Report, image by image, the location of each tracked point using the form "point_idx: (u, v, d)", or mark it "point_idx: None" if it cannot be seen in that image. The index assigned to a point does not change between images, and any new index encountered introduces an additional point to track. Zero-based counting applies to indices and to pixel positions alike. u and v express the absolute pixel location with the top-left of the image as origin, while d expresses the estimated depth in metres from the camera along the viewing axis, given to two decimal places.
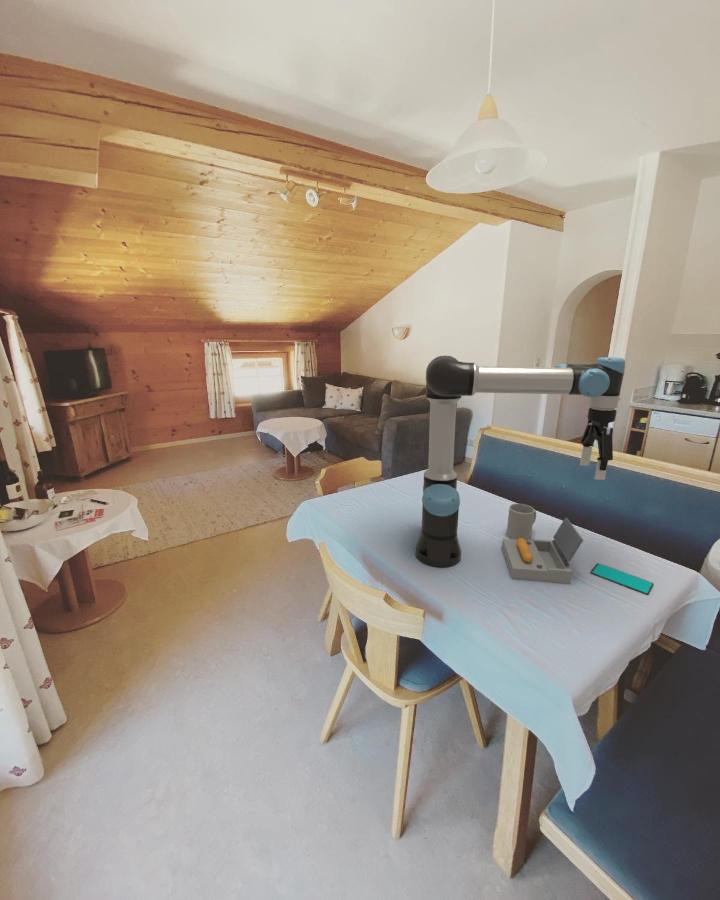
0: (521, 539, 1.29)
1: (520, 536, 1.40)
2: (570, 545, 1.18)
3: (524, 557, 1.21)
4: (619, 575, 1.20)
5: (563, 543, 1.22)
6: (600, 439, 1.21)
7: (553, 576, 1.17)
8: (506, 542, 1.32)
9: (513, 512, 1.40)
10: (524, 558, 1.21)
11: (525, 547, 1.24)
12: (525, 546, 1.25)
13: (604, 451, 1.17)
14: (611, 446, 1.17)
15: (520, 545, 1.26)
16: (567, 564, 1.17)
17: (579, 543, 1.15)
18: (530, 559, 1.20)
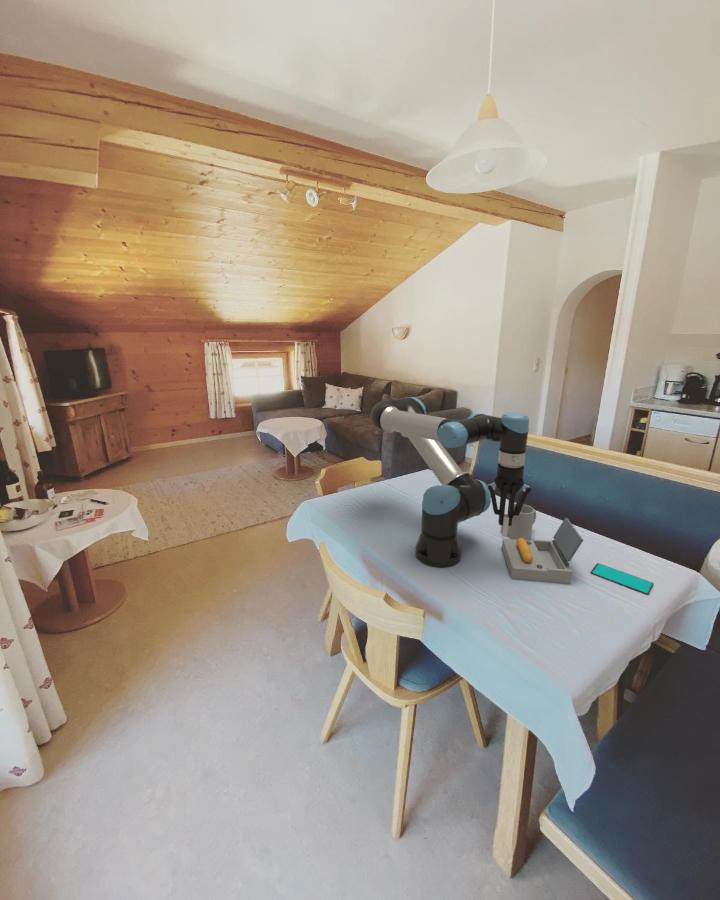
0: (521, 539, 1.29)
1: (520, 536, 1.40)
2: (570, 545, 1.18)
3: (524, 557, 1.21)
4: (619, 575, 1.20)
5: (563, 543, 1.22)
6: None
7: (553, 576, 1.17)
8: (506, 542, 1.32)
9: None
10: (524, 558, 1.21)
11: (525, 547, 1.24)
12: (525, 546, 1.25)
13: None
14: (492, 502, 1.22)
15: (520, 545, 1.26)
16: (567, 564, 1.17)
17: (579, 543, 1.15)
18: (530, 559, 1.20)
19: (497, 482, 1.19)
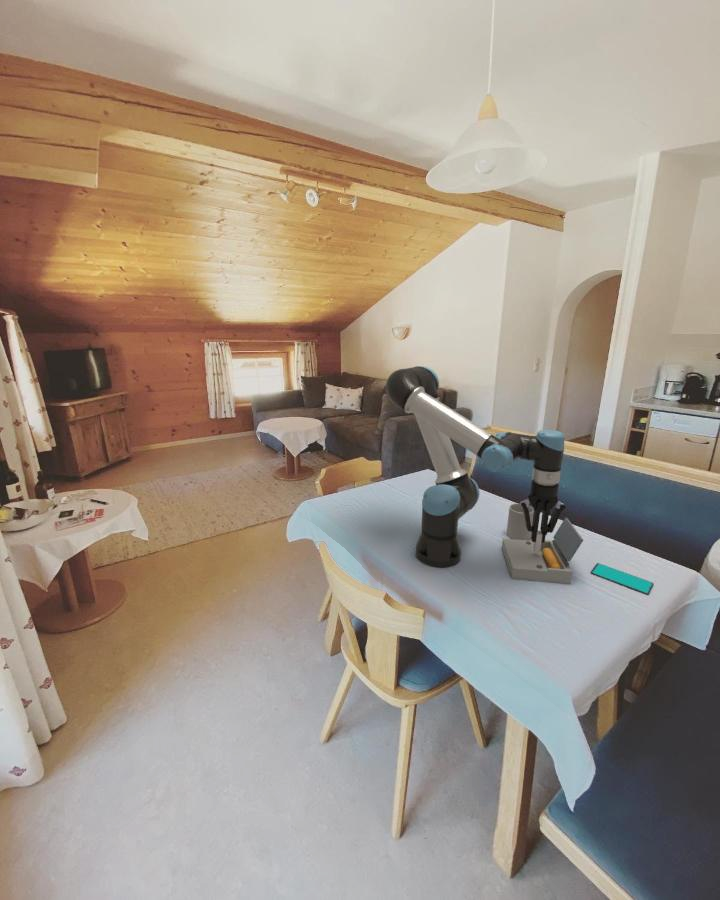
0: (547, 549, 1.28)
1: (520, 536, 1.40)
2: (570, 545, 1.18)
3: None
4: (619, 575, 1.20)
5: (563, 543, 1.22)
6: (534, 511, 1.22)
7: (553, 576, 1.17)
8: (506, 542, 1.32)
9: (513, 512, 1.40)
10: None
11: (552, 558, 1.23)
12: (551, 556, 1.24)
13: None
14: (525, 519, 1.21)
15: (546, 556, 1.26)
16: (567, 564, 1.17)
17: (579, 543, 1.15)
18: None
19: (531, 499, 1.19)
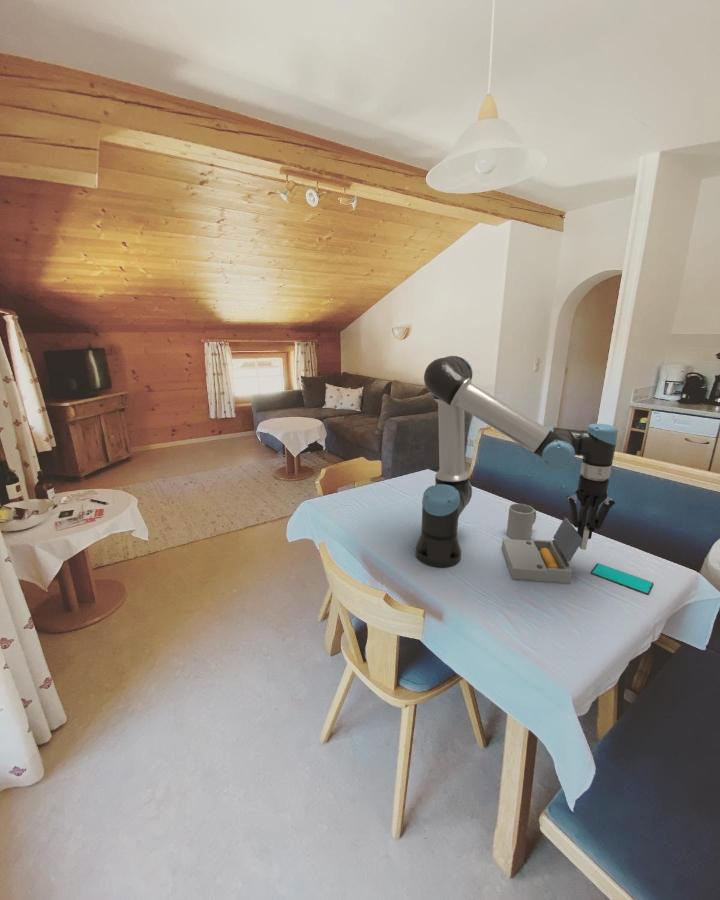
0: (542, 550, 1.29)
1: (520, 536, 1.40)
2: (570, 545, 1.18)
3: None
4: (619, 575, 1.20)
5: (563, 543, 1.22)
6: (581, 507, 1.19)
7: (553, 576, 1.17)
8: (506, 542, 1.32)
9: (513, 512, 1.40)
10: None
11: (547, 558, 1.24)
12: (547, 557, 1.24)
13: (571, 517, 1.21)
14: (572, 515, 1.19)
15: (543, 557, 1.26)
16: (567, 564, 1.17)
17: (579, 543, 1.15)
18: None
19: (579, 495, 1.16)
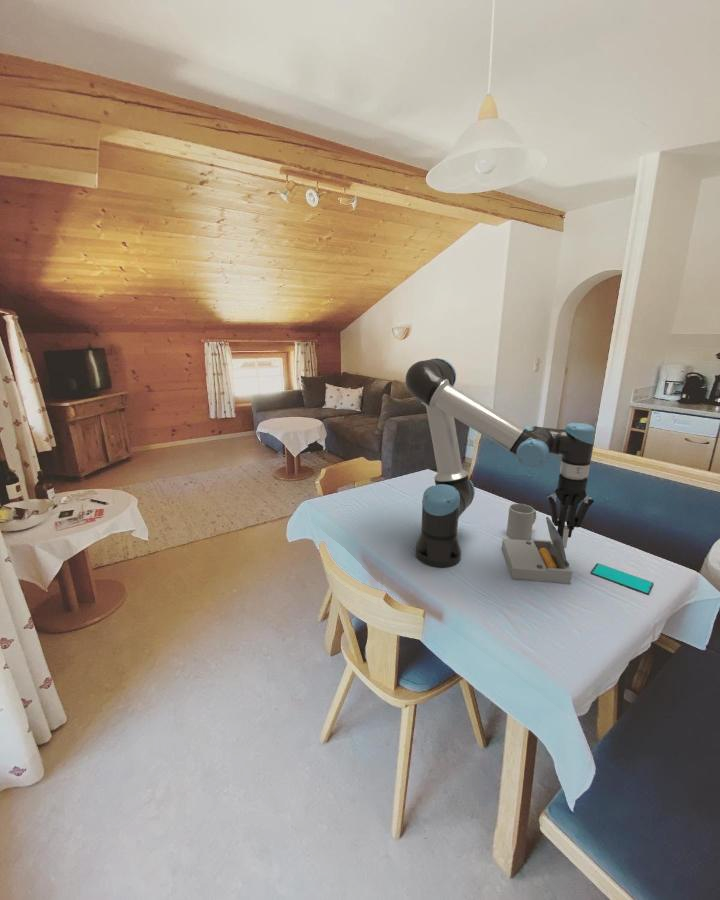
0: (540, 550, 1.29)
1: (520, 536, 1.40)
2: (558, 545, 1.19)
3: None
4: (619, 575, 1.20)
5: (555, 544, 1.23)
6: (561, 505, 1.20)
7: (553, 576, 1.17)
8: (506, 542, 1.32)
9: (513, 512, 1.40)
10: None
11: (545, 558, 1.24)
12: (545, 557, 1.24)
13: None
14: (552, 514, 1.20)
15: (542, 558, 1.26)
16: (567, 564, 1.17)
17: (561, 542, 1.15)
18: None
19: (558, 493, 1.17)
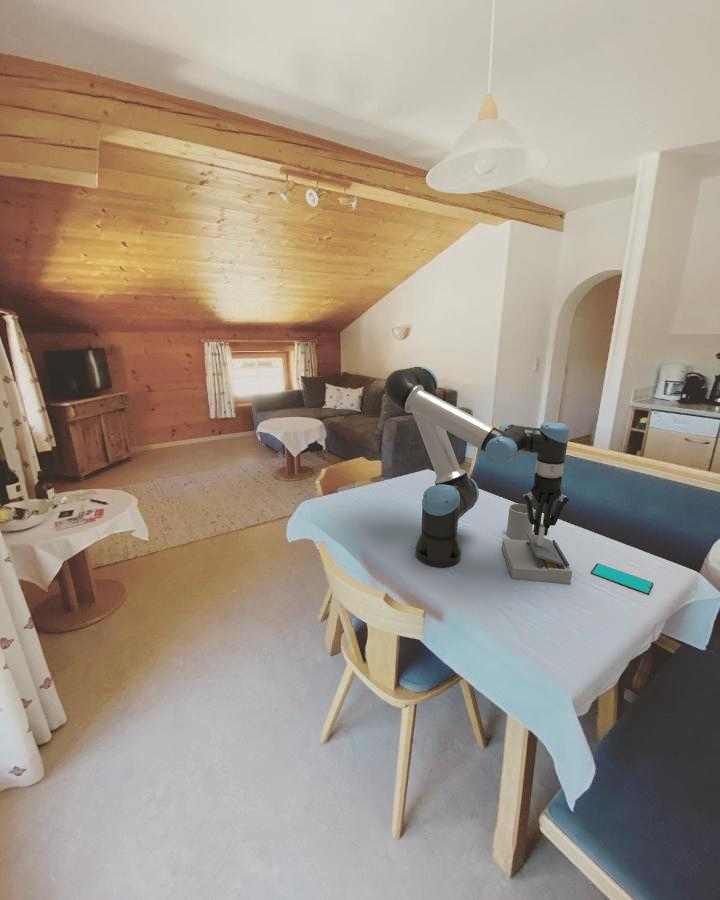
0: None
1: (520, 536, 1.40)
2: None
3: None
4: (619, 575, 1.20)
5: None
6: (537, 504, 1.21)
7: (553, 576, 1.17)
8: (506, 542, 1.32)
9: (513, 512, 1.40)
10: None
11: (543, 559, 1.24)
12: None
13: None
14: (528, 512, 1.21)
15: None
16: (567, 565, 1.17)
17: (541, 557, 1.18)
18: None
19: (534, 492, 1.18)
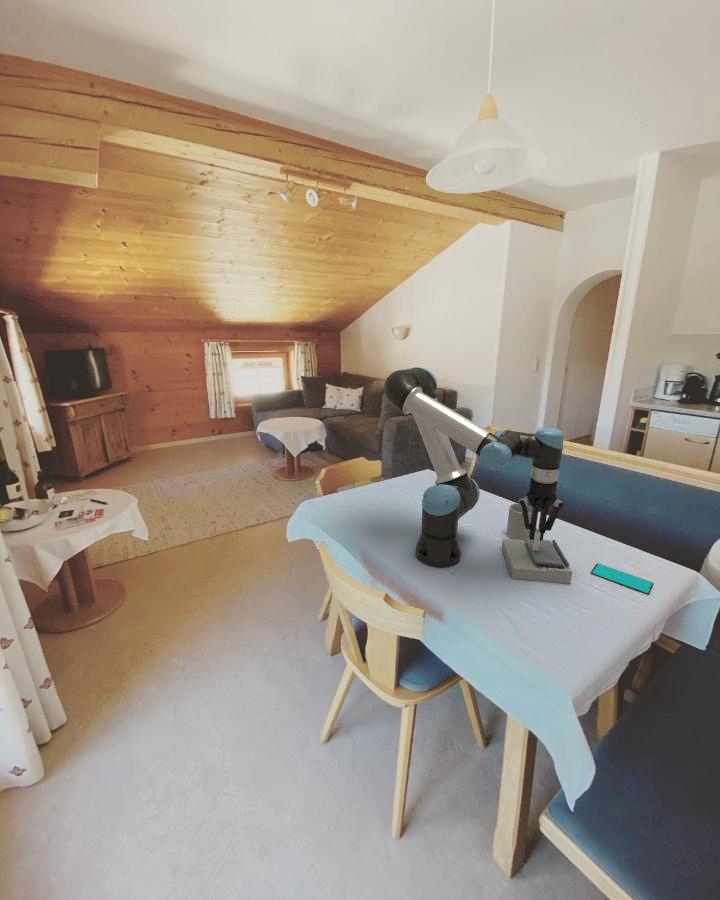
0: None
1: (520, 536, 1.40)
2: None
3: None
4: (619, 575, 1.20)
5: None
6: (532, 509, 1.22)
7: (553, 576, 1.17)
8: (506, 542, 1.32)
9: (513, 512, 1.40)
10: None
11: None
12: None
13: None
14: (524, 517, 1.21)
15: None
16: (567, 565, 1.17)
17: (540, 562, 1.18)
18: None
19: (529, 497, 1.19)
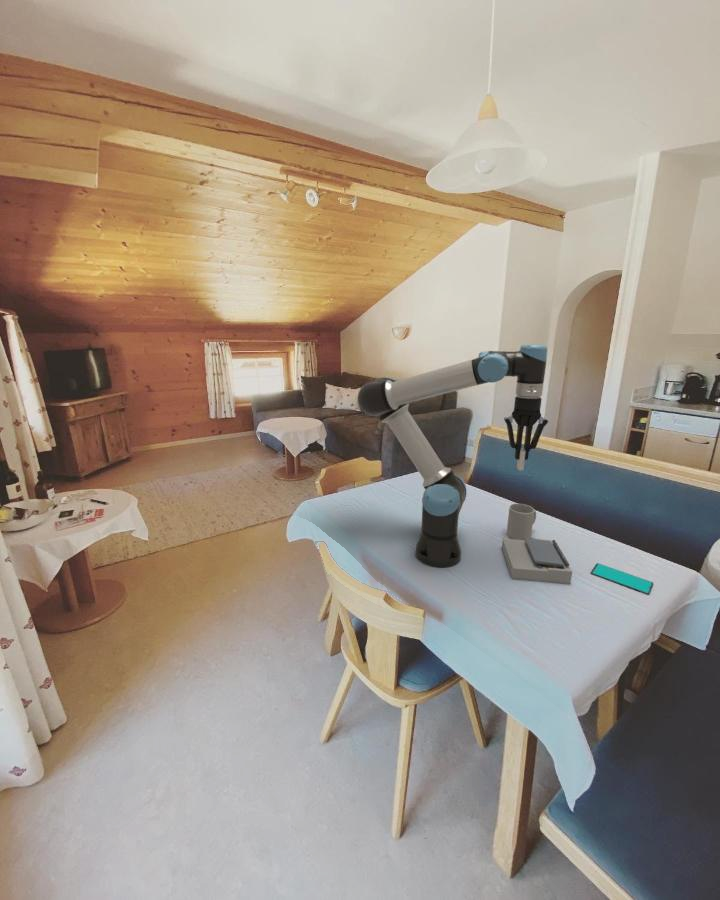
0: None
1: (520, 536, 1.40)
2: None
3: None
4: (619, 575, 1.20)
5: None
6: None
7: (553, 576, 1.17)
8: (506, 542, 1.32)
9: (513, 512, 1.40)
10: None
11: None
12: None
13: None
14: (509, 436, 1.24)
15: None
16: (567, 565, 1.17)
17: (540, 562, 1.18)
18: None
19: (514, 415, 1.22)
